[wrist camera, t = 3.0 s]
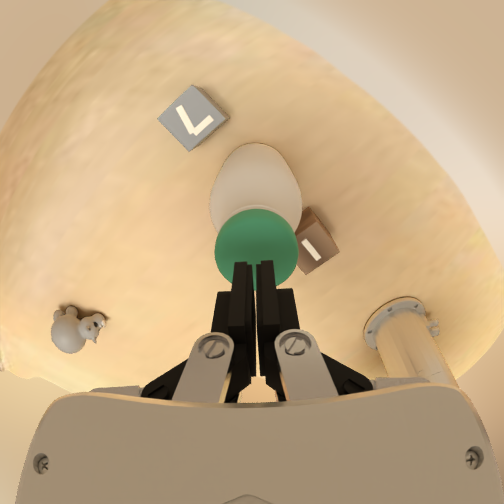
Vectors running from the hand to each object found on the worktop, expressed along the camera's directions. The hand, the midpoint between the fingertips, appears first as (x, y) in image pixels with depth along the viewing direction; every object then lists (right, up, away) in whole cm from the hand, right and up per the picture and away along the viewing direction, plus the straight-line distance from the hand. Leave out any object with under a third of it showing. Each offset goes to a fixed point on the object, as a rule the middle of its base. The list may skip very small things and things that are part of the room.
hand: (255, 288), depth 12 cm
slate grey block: (-6, +17, +17) cm, 25 cm away
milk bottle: (0, +11, +20) cm, 23 cm away
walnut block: (+7, +4, +24) cm, 25 cm away
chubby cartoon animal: (-32, -11, +32) cm, 47 cm away
